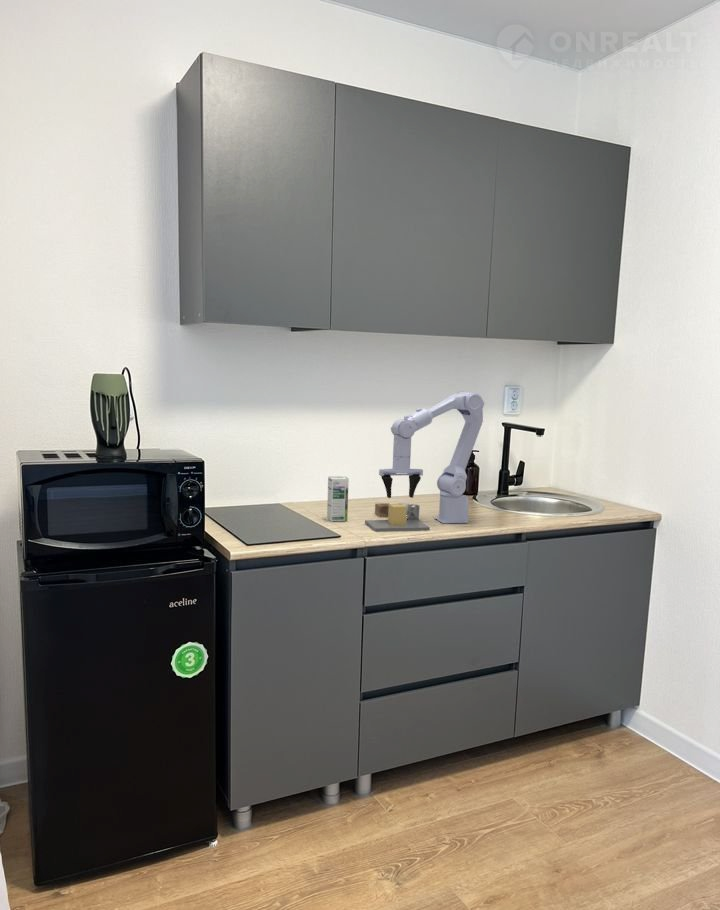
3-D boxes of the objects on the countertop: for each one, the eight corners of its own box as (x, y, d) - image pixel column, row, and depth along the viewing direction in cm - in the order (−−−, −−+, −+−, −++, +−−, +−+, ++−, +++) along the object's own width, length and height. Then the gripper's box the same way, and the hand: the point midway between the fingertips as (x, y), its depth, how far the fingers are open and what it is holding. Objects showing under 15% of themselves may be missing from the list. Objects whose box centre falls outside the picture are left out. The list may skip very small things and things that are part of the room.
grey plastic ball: (407, 514, 247) (407, 503, 246) (410, 516, 243) (410, 505, 242) (396, 514, 246) (396, 503, 246) (398, 516, 242) (399, 505, 242)
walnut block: (388, 514, 246) (388, 503, 245) (393, 517, 241) (393, 506, 240) (374, 514, 244) (375, 503, 244) (379, 517, 239) (379, 506, 239)
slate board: (416, 522, 234) (417, 519, 233) (429, 530, 222) (429, 527, 222) (364, 523, 229) (365, 520, 229) (375, 531, 217) (375, 528, 217)
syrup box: (330, 522, 229) (332, 478, 227) (326, 518, 235) (328, 475, 233) (347, 521, 231) (349, 478, 229) (343, 517, 236) (344, 475, 235)
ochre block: (401, 521, 228) (401, 503, 228) (405, 525, 224) (406, 506, 223) (387, 522, 227) (388, 504, 226) (392, 525, 223) (393, 506, 222)
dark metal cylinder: (416, 518, 240) (417, 504, 239) (420, 521, 236) (421, 506, 235) (405, 518, 239) (406, 504, 238) (409, 521, 235) (409, 506, 234)
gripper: (418, 454, 234) (416, 494, 235) (376, 454, 230) (375, 495, 231) (426, 457, 227) (424, 498, 229) (383, 457, 223) (381, 499, 225)
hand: (400, 497), depth 230 cm, fingers open, 7 cm apart
